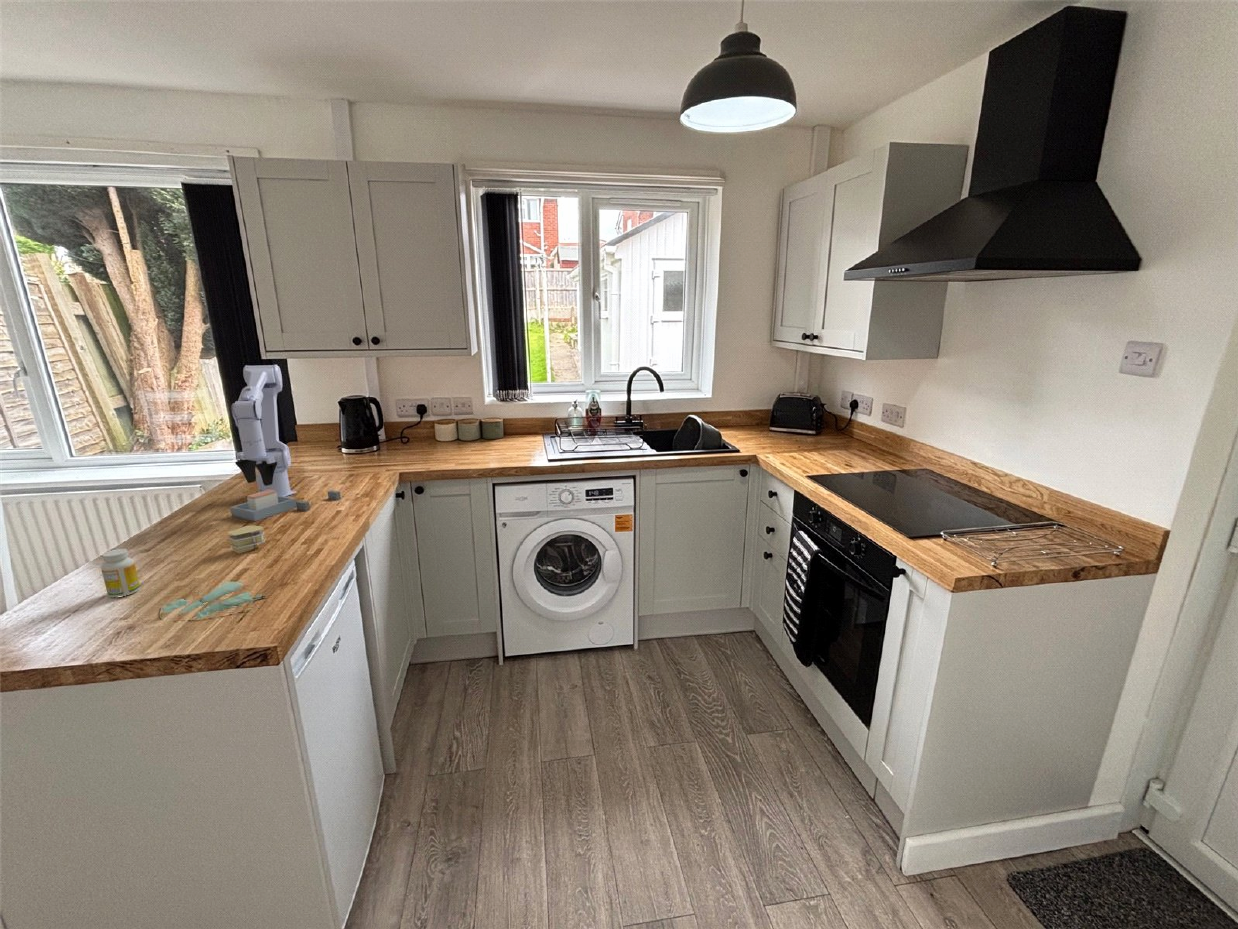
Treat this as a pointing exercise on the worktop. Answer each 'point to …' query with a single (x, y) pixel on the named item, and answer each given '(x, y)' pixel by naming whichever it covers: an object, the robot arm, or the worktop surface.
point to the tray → (263, 509)
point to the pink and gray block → (262, 499)
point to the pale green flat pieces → (214, 606)
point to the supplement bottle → (119, 573)
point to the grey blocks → (305, 505)
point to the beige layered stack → (246, 538)
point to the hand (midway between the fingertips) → (260, 483)
